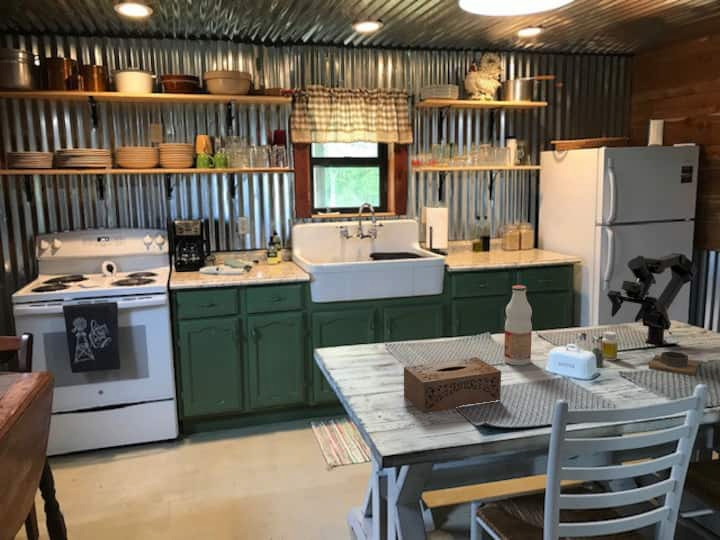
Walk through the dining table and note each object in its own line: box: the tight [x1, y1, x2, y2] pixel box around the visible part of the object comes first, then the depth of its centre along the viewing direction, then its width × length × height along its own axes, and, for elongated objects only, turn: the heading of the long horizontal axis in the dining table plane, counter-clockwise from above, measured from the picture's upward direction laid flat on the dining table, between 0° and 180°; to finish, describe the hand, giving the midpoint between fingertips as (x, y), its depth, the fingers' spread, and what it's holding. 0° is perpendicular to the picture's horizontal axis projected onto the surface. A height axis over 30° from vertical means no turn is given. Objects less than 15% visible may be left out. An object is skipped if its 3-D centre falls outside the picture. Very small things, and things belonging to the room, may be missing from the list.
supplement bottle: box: [601, 331, 619, 361], centre depth 218 cm, size 5×5×10 cm
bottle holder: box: [648, 350, 700, 376], centre depth 210 cm, size 14×14×4 cm
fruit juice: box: [503, 285, 533, 366], centre depth 215 cm, size 9×9×28 cm
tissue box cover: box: [403, 356, 502, 415], centre depth 184 cm, size 26×14×10 cm, turn 109°
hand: (623, 318), depth 221 cm, fingers open, 9 cm apart
